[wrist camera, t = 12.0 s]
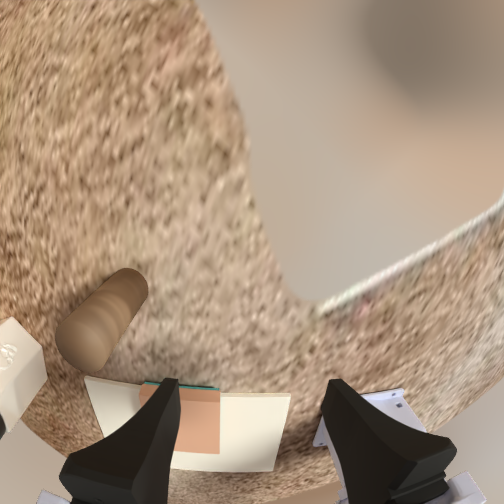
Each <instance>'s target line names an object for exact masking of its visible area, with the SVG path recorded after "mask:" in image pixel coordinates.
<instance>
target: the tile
mask: <svg viewBox="0 0 504 504" xmlns="http://www.w3.org/2000/svg"><path fill="white" fill-rule="evenodd" d="M159 385H160V384H158V383H150V382H144V384H142V386H141V389H140V392H139V400H140V405H141V407H142V406H143V405H144V404H145V403H146V402H147V401H148V399H149V398H150V397H151V396H152V395H153V393H154V392H155V391H156V389H157V388H158V387H159ZM179 393H180V403H181V416H180V425H179V430H178V435H177V439H176V443H175V447H174V451H180V452H191V453H204V454H220V391H219V388H202V387H188V386H179Z"/></svg>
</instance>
